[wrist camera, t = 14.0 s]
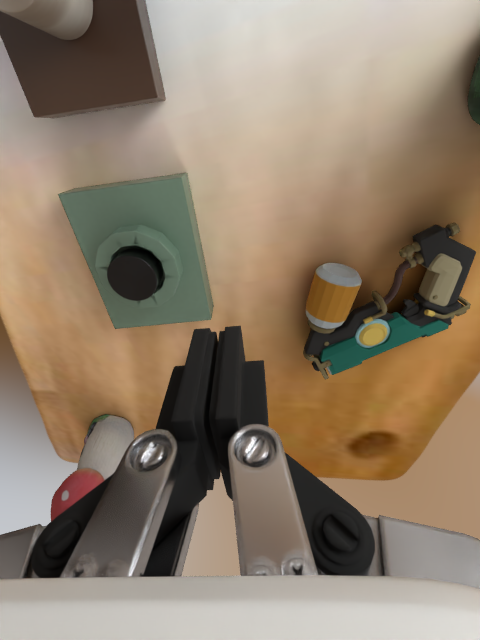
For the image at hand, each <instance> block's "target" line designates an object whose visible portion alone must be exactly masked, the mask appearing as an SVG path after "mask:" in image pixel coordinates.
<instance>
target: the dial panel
mask: <svg viewBox="0 0 480 640" xmlns="http://www.w3.org/2000/svg"><path fill="white" fill-rule="evenodd" d="M0 35H1V37H2V40H3V42H4V45H5V47H6V50H7V52H8V55H9V57H10V59H11V62H12V64H13V67H14V69H15V72H16V74H17V76H18V79H19V81H20V84H21V86H22V89H23V91H24V94H25V96H26V98H27V101H28V103H29V106H30V108H31V111H32V113H33V115H34V117H38V118H57V117H64V116H70V115H76V114H83V113H89V112H95V111H102V110H108V109H114V108H120V107H127V106H133V105H139V104H146V103H152V102H158V101H164V100H166V98H165V93H164V88H163V84H162V79H161V74H160V69H159V65H158V60H157V55H156V50H155V45H154V41H153V36H152V31H151V26H150V21H149V17H148V12H147V7H146V2H145V0H93V15H92V20H91V23H90V25H89V27H88V29H87V31H86V32H85V33H84V34H83V35H82V36H80V37H79V38H77V39H73V40H63V39H60V38H57V37H55V36H53V35H51V34H49V33H47V32H44V31H42V30H40V29H38V28H36V27H34V26H32V25H29V24H27V23H25V22H23V21H21V20H19V19H17V18H15V17H12V16H10V15H8V14H6V13H4V12H2V11H0Z"/></svg>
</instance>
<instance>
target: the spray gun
mask: <svg viewBox="0 0 480 640" xmlns="http://www.w3.org/2000/svg"><path fill="white" fill-rule="evenodd" d="M459 231H460V228H459V226H458V224H456V223H451V224H449V225H447V226H446V228H442V227H441V226H438V225H434V226H432V227H430V228H428V229H426V230H424V231H422V232H420V233H418V234H416V235H414V236H413V241H414V243H413V244H412V246H411V245H407V246H405V247H403V249H401V250H400V251H399V254H400V256H401V257H406V259H405V261H404V262H403V263H402V264H401V265H400V266H399V267H398V268H397V270H396V273H395V277H394V282H393V284H392V287H391V289H390V291H389V293H388V294H387V295H386V296H385V297H384V298H382V297H381V296H380V295H379V293H377V292H376V291H372V297H373V299H374V301H372V302H369V303H367V304H365V305H363V306H361V307H358V308H356V309H354V310H352V311H351V312H350V309H351V307H352V304H353V302H354V300H355V297H356V295H357V292H358V290H359V288H360V285H361V283H362V280H361V278H360V276H359V274H358V272H357V271H356V270H354V269H353V268H351V267H349V266H346V265H343V264H338V263H326V264H323V265H321V266H319V267H318V268H317V269H316V270H315V274H314V277H313V281H312V285H311V288H310V292H309V295H308V299H307V302H306V316H307V317H308V318H309V319H308V325H309V326H310V327H311V328H312V330H311V332H310V334H309V337H308V339H307V342H306V344H305V347H304V350H303V354H304V357H305V358H306V359H307V360H310V361H313V363H312V365H313V367H314V369H315V370H316V371H321V373H322V375H323V377H324V378H325V379H328V378H329V377H328V375H327V372H326V370H325V368H327V369H328V371H329V373H330V374H332V375H334V374H336V373H339V372H341V371H344V370H346V369H349V368H352V367H354V366H357V365H359V364H361V363H362V361H363V360H366V359H368V358H370V357H373V356H375V355H378V354H380V353H382V352H385V351H387V350H390V349H392V348H394V347H397V346H399V345H401V344H404V343H406V342H409V341H411V340H413V339H416V338H418V337H421V336H422V337H425V336H427V337H428V336H431V335H433V334H436V333H438V332H440V331H443V330H445V329H448V326H449V325H451V324H452V322H451V319H453V318H454V315H456V316H460V315H462V314H464V313H466V310H468V309H470V305H471V304H470V303H468V302H467V301H466V300H465V299H463V298H462V297H460V296H459V295H460V293H461V290H462V288H463V285H464V283H465V280H466V278H467V275H468V272H469V270H470V267H471V264H472V262H473V259H474V256H475V254H476V251H474V250H472V249H471V248H469V247H467V246H465V245H463V244H461V243H459V242H457V241H455V240H453V239H451V238H449V236H454V235H455V234H457V233H459ZM415 251H416V254H415V255H414V257H413V256H412V254H413V253H414V252H415ZM417 263H418V264H421V265H423V266H424V267H425V268H427V271H426V273H425V276H424V278H423V280H422V283H421V285H420V288H419V293H414V298H415V299H416V300H415V301H412V300H408V299H404V300H403V302H404V303H405V307H404V309H403V310H402V311H401V313H402V314H400V313H398V312H394V313H391V314H390V313H387V306H386V305H387V304H388V303H389V302H390V301H391V300H393V298H394V297H395V296H396V294H397V293H398V290H399V288H400V285H401V283H402V278H403V274H404V272H405V270H406V269H408V268H413V267H415V266H416V264H417ZM457 300H459V301H460V302H462V303H463V304H464V305H465V306H464V305H463V304H461V303H459V302H458V301H457ZM380 308H381V309H382V310H381V309H380ZM349 312H350V314H349ZM348 314H349V315H348ZM312 355H313V356H314V357H310V356H312Z"/></svg>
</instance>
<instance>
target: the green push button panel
mask: <svg viewBox="0 0 480 640" xmlns="http://www.w3.org/2000/svg"><path fill="white" fill-rule="evenodd" d="M58 195H59V198H60V200H61V203H62V205H63V207H64V210H65V212H66V214H67V217H68V219H69V221H70V224H71V226H72V229H73V231H74V233H75V236H76V238H77V240H78V243H79V245H80V247H81V250H82V252H83V254H84V257H85V259H86V262H87V264H88V266H89V269H90V271H91V273H92V276H93V278H94V280H95V283H96V285H97V287H98V290H99V292H100V295H101V297H102V299H103V302H104V304H105V306H106V309H107V311H108V313H109V316H110V318H111V321H112V323H113V325H114V328H115V329H120V328H130V327H140V326H151V325H161V324H171V323H182V322H192V321H202V320H211V318H212V312H213V307H214V305H213V300H212V295H211V290H210V285H209V280H208V275H207V270H206V265H205V260H204V255H203V250H202V245H201V240H200V235H199V230H198V225H197V220H196V215H195V210H194V205H193V200H192V195H191V190H190V185H189V180H188V175H187V173H182V174H175V175H168V176H160V177H153V178H146V179H139V180H131V181H124V182H117V183H110V184H102V185H95V186H88V187H81V188H74V189H71V190H69V191H66V192H63V193H60V194H58ZM130 248H137V249H142V250H144V251H147V252H148V253H150V254H151V255H153V256H154V257H155V258H156V260H157V261H158V262H159V264H160V267H161V270H162V278H161V281H160V283H159V285H158V287H157V289H156V291H155V292H154V294H153V295H152V296H151V297H149V298H147V299H145V300H141V301H132V300H128V299H126V298H123V297H121V296H120V295H118V294H117V293H116V292H115V291H114V290H113V289H112V287H111V286H110V284H109V282H108V278H107V269H108V266H109V264H110V263H111V262H112V261H113V260H114V259H115V258H116V257H117V256H118V255H119V254H120V253H121V252H122V251H124V250H126V249H130Z"/></svg>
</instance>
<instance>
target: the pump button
mask: <svg viewBox="0 0 480 640" xmlns="http://www.w3.org/2000/svg"><path fill="white" fill-rule="evenodd" d="M107 278H108V282H109V284H110V286H111V287H112V289H113V290H114V291H115V292H116V293H117V294H118V295H120V296H121V297H123V298H126V299H128V300H132V301H141V300H145V299H147V298H149V297H151V296H152V295H153V294H154V292H155V291H156V289H157V287H158V285H159V283H160V281H161V278H162V270H161V267H160V264H159V262H158V261H157V260H156V258H155V257H154V256H153V255H151V254H150V253H148V252H147V251H144V250H142V249H137V248H130V249H126V250H124V251H122V252H121V253H120V254H119V255H118V256H117V257H116V258H115V259H114V260H113V261H112V262H111V263H110V264H109V266H108V269H107Z"/></svg>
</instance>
